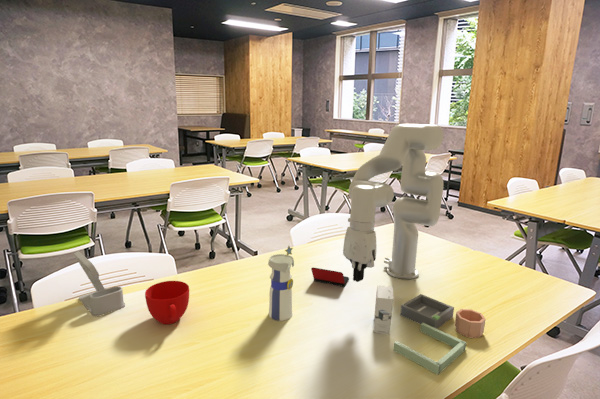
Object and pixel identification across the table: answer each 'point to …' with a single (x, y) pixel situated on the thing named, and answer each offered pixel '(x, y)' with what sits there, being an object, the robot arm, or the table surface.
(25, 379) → the table surface
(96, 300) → the grey hollow angled piece
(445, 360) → the pale green horseshoe bracket
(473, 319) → the cup
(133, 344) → the table surface
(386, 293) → the ink box
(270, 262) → the water bottle
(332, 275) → the handheld game console
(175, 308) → the ceramic cup
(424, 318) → the tray
